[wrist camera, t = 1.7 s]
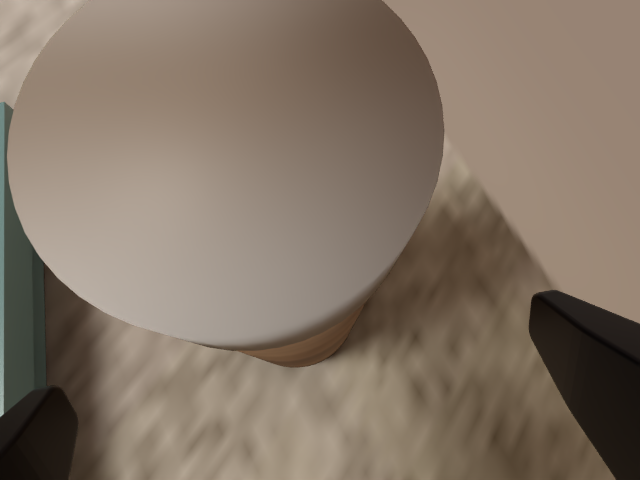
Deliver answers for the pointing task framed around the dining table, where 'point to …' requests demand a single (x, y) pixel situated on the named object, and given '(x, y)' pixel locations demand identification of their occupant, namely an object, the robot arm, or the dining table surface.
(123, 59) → the shaker
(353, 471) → the dining table surface
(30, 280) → the tray
